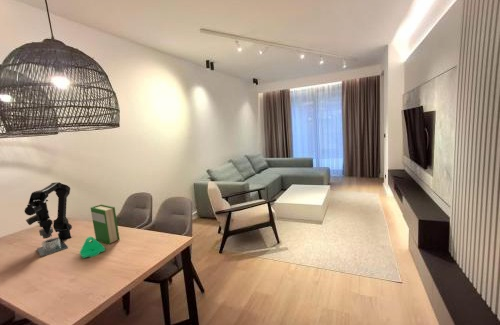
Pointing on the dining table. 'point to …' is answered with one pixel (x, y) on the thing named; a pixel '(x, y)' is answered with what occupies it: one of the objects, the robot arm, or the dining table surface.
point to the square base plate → (51, 246)
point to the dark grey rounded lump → (43, 233)
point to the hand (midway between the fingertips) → (46, 232)
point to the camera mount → (91, 248)
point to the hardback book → (105, 223)
